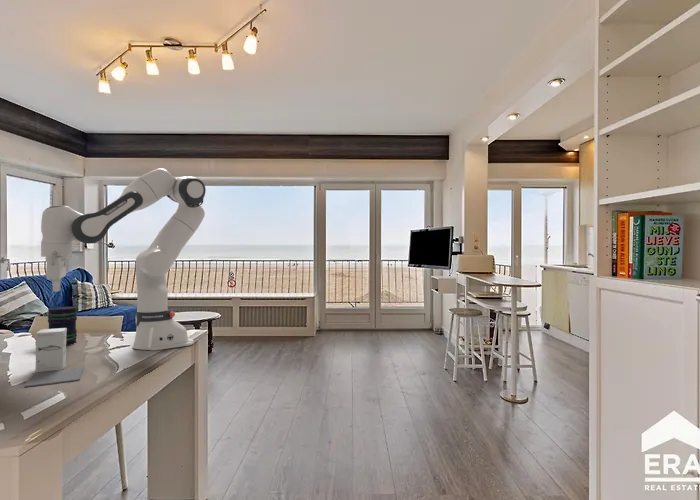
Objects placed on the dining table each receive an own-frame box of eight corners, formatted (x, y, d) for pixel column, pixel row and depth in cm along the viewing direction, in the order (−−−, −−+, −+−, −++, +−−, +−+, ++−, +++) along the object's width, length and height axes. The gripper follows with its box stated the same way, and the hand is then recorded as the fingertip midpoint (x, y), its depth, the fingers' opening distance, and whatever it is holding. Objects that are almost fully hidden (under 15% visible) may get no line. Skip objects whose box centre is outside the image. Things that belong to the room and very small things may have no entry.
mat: (83, 368, 133) (83, 367, 133) (79, 380, 121) (79, 379, 121) (33, 374, 127) (33, 373, 127) (24, 387, 115) (24, 386, 115)
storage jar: (71, 340, 176) (71, 305, 176) (81, 343, 170) (81, 307, 171) (43, 344, 168) (43, 308, 168) (52, 347, 162) (53, 310, 163)
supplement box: (34, 373, 128) (34, 332, 128) (39, 367, 135) (39, 328, 135) (63, 370, 132) (63, 330, 132) (66, 364, 138) (66, 327, 138)
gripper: (64, 251, 137) (64, 293, 136) (70, 251, 154) (70, 288, 154) (40, 251, 133) (40, 294, 133) (49, 251, 151) (49, 289, 151)
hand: (56, 291), depth 144 cm, fingers closed
